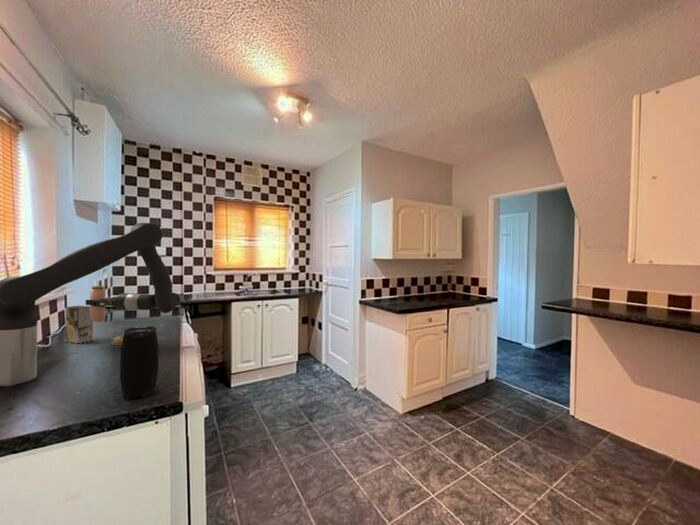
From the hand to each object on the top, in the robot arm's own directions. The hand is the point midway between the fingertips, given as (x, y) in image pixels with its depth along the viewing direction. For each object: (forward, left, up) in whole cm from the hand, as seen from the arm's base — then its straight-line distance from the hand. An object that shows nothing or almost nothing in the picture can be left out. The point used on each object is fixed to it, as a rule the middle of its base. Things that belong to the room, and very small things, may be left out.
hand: (91, 301), depth 136 cm
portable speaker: (-47, -50, -20) cm, 72 cm away
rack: (+8, -12, -20) cm, 25 cm away
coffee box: (+7, +11, -20) cm, 24 cm away
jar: (0, -3, -8) cm, 9 cm away
